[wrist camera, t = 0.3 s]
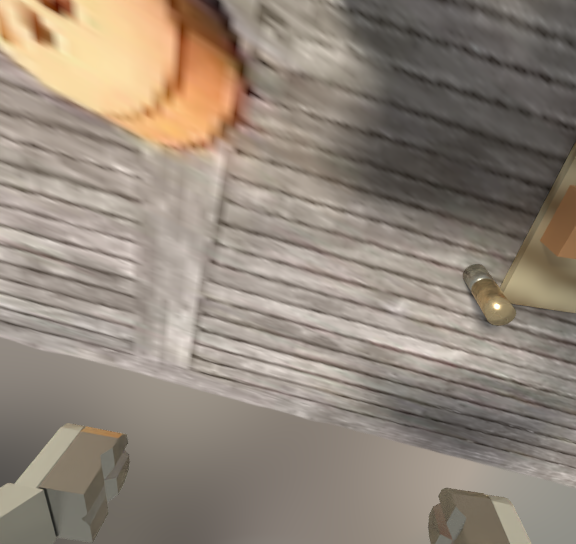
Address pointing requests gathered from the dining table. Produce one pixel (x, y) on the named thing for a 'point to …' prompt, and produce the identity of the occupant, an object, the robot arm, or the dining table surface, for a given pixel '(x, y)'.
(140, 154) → the dining table surface
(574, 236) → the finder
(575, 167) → the panel
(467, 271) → the amber glass vial
